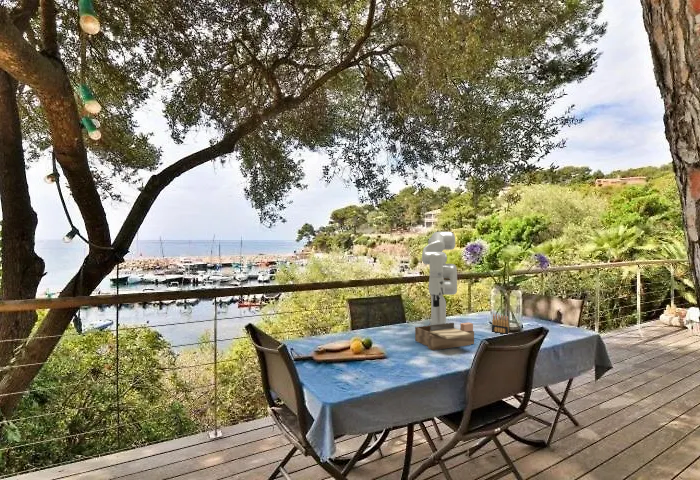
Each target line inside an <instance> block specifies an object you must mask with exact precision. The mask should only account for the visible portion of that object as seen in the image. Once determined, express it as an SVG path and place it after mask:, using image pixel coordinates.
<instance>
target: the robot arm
mask: <svg viewBox="0 0 700 480" xmlns="http://www.w3.org/2000/svg"><path fill="white" fill-rule="evenodd" d="M427 243H428V244H427V245H425V246H424V247H423V249H422V254H421V261H422V263H423V264H424V265H429V279H428V292H429V295H430V300H431V301H430V303H431V304H430V305H431V307H430V309H431V310H430V312H431V313H430V316H431V317H430V319H429V321H428V322H429V323H430V324H429V325H428V326H430V325H436V324H444V323H447V300H446V299H445V297H444V295H449V296H450V295H451V296H452V295H453V296H454V295H456V294H457V292H458V269H457V268H458V267H457V266H456V264H454V263H447V261H448V256H447V254H446V253H445V252H444V250H446V251H447V250H448V251H449V250H450V251H451V250H454V249H455V247H456V236H455V234H454V232H452V231H435V232H434V233H432V235H431V237H430V238H428V241H427Z"/></svg>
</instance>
